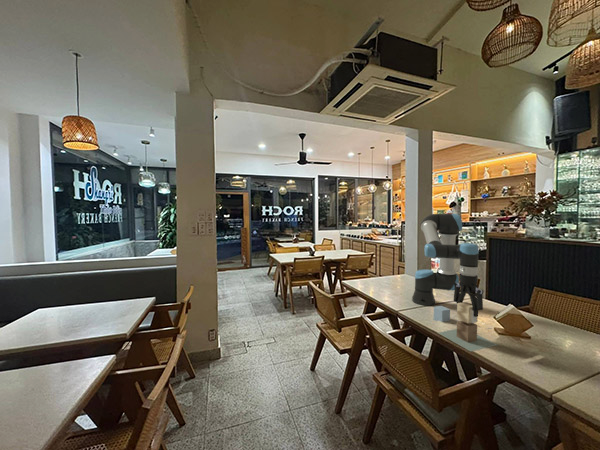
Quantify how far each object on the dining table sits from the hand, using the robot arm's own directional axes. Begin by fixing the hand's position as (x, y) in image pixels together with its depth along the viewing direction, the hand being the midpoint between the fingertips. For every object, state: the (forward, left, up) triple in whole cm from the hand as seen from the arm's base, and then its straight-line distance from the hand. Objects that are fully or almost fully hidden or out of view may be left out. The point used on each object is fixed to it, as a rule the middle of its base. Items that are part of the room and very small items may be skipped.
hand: (467, 319), depth 120 cm
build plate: (0, 0, -11) cm, 11 cm away
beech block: (0, 0, 0) cm, 0 cm away
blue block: (-21, +7, -11) cm, 25 cm away
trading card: (-15, +23, -12) cm, 30 cm away
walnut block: (0, 0, -10) cm, 10 cm away
